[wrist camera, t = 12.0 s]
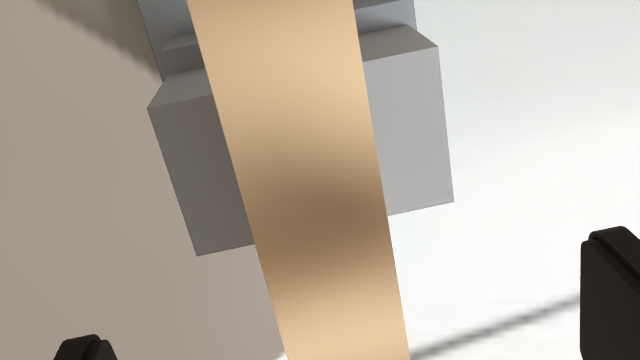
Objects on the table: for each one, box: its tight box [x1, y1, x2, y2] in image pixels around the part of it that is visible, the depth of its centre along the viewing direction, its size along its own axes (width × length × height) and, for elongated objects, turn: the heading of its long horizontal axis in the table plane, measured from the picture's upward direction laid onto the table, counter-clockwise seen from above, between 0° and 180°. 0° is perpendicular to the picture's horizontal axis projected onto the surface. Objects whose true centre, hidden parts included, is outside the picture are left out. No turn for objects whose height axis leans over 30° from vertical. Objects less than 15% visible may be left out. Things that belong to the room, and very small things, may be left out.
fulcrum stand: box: [137, 0, 454, 256], centre depth 24 cm, size 14×12×9 cm
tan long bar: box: [187, 0, 410, 360], centre depth 18 cm, size 24×4×6 cm, turn 11°
